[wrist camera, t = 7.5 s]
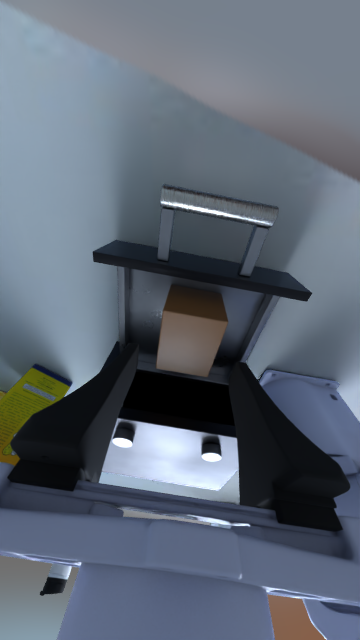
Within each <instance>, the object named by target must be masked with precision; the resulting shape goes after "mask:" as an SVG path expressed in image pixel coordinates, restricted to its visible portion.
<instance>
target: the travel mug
mask: <svg viewBox="0 0 360 640" xmlns="http://www.w3.org/2000/svg"><path fill="white" fill-rule="evenodd" d="M71 568H72V566H66V565H60V564H53V565H52V567H51V570H50V572H49V575H48V578H47V581H46V583H45V586H44V588H43V591H41V592H40V595H42V596H43V595H44V594H56V593H62V592H63V590H64V588H65V584H66V582H67V579H68V576H69V574H70V571H71Z"/></svg>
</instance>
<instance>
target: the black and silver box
mask: <svg viewBox="0 0 360 640" xmlns="http://www.w3.org/2000/svg"><path fill="white" fill-rule="evenodd" d="M119 354H120V342H118V341H117V342H116V344H115V346H114V348H113V350H112V351H111V353H110V355H109V357H108V358H107V360H106V362H105V364H104V366H103V367H102V369H101V371H102V370H103V369H104V368H106V367H107V366H108V365H109V364H110V363H111V362H112V361H113V360H114V359H115V358H116V357H117V356H118V355H119ZM101 371H100V372H101ZM238 469H239V463H238V448H237V436H236V427H235V421H234V416H233V411H232V405H231V400H230V394H229V388H227V387H221V386H216V385H210V384H204V383H198V382H193V381H187V380H181V379H175V378H170V377H164V376H158V375H152V374H147V373H141V372H135V375H134V378H133V381H132V383H131V385H130V388H129V390H128V392H127V395H126V397H125V400H124V402H123V404H122V407H121V409H120V412H119V415H118V418H117V422H116V425H115V428H114V431H113V434H112V438H111V441H110V444H109V448H108V451H107V454H106V458H105V461H104V465H103V468H102V472H104V473H111V474H117V475H123V476H129V477H136V478H142V479H148V480H154V481H161V482H167V483H173V484H179V485H186V486H192V487H198V488H204V489H211V490H217V491H219V490H220V489H221V488H222V487H223V485H224V484H225V483H226V482H227V481H228V480H229V479H230V478H231V477H232V476H233V475H234V474H235V473H236V472H237V470H238Z"/></svg>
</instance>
